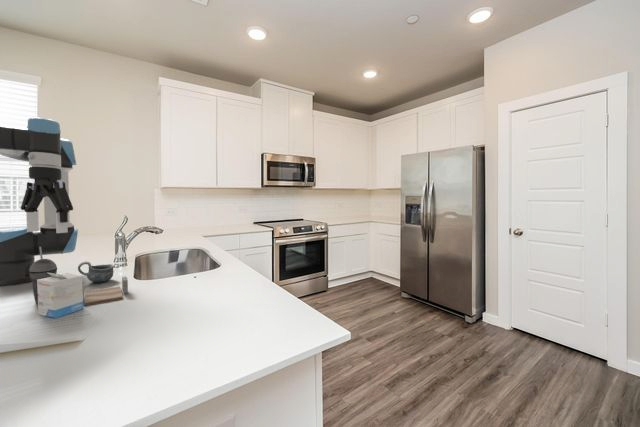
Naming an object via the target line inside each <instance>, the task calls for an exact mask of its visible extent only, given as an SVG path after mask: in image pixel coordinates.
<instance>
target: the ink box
mask: <svg viewBox="0 0 640 427" xmlns="http://www.w3.org/2000/svg"><path fill="white" fill-rule="evenodd" d="M48 274H50V275H52V277H48V278H43V279H37V291H38V304H37V308H38V309H37V313H38V315H39V316H43V317H48V318H52V319H57V318H60V317H64V316H66V315H70V314H72V313H74V312H79V311H80V310H84V309H85V308H84V295H83V293H84V286H83V287H82V282H83V275H79V274H75V273H74V274H73V273H69V272H67V273H62V274H60V273H59V274H58V273H56V274H54V273H48Z"/></svg>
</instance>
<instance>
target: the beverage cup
mask: <svg viewBox="0 0 640 427" xmlns="http://www.w3.org/2000/svg"><path fill="white" fill-rule="evenodd" d="M39 249H40V255H39V256H40V259H38V260H36V261H35V262H34V263H33V264H32V265H31V267H30V271H29V273H30V277H31V279H32V281H31V284H32V285H31V286H32V292H33V297H34V301H35V302H34V303H35V305H38V291H37V279H43V278H48V277H52V275H50V274H48V273H54V274H58V273H57V272H58V266H57V264H56V262H54V260H52V259H49V258H43V255H42V249H41V247H39Z"/></svg>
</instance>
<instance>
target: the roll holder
mask: <svg viewBox="0 0 640 427" xmlns="http://www.w3.org/2000/svg"><path fill="white" fill-rule="evenodd" d="M121 278H122V279H121V280H122V281H121V282H122V284H121V285H122V288H121V286H113V287H107V288H106V287H105V288H100V289H93V290H86V291H85V294H84V292H83V296H84V300H83V307H84V306H91V305H96V304H103V303H109V302H114V301H119V300H123V298H124V297H123V294H127V293H129V290H128V289H129V287H128V286H129V281H128V280H129V279H128V277H127V276H126V275H125V276H121ZM82 287H83V288H84V281H82ZM122 292H123V293H122Z"/></svg>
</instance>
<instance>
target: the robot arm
mask: <svg viewBox="0 0 640 427" xmlns="http://www.w3.org/2000/svg"><path fill="white" fill-rule="evenodd" d="M73 145H74V144H73V142H72V141H70V140H69V139H65V138H61V126H60V123H59V122H58V121H56V120H54V119H49V118H44V117H29V118H28V119H27V126H26V128H20V127H19V128H18V127H11V126H2V125H0V155H1V156H3V157H7V158H9V159H10V158H11V159H14V160H17V161H23V162H28V165H29V166H30V167H28V178H29V179H32V180H34V182H30V181H27V182H26V189H25V192H24V196H23V199H22V202H21V205H20V210H21V211H24V212H25V214H26V227H19V228H18V227H17V228H11V229H6V230H1V231H0V285H1V286H10V285H13V286H14V285H19V284H24V283H29V282H32V279H31V277H30V273H29V271H30V267H31V265H32V264H33V263H34V262H36V261H35V257H36V256H37V257H38V256H40V249H39V247H41V249H42V256H49V255H60V254H61V255H63V254H69V253H73V252H75V250H76V246H77V240H78V232H79V230H78V229H79V228H76V227H75V225H74V224H73V223H72V222H70V212H71V211H73V210H74V207H73V204H72V202H71V199H70V190H69V189H70V188H69V183H70V182H69V172H71V170H73V166H76V165H77V160H76V156H75V151H74V146H73ZM42 201H43V211H44V212H43V214H44V218H43V219H44V222H43V223H42V224H41V225H40V224H39V210H38V208H39V207H40V204H41V203H42Z"/></svg>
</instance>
